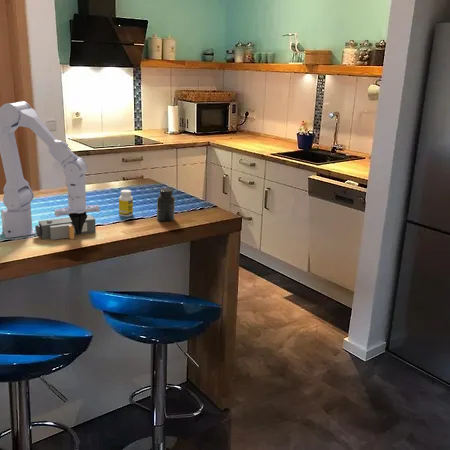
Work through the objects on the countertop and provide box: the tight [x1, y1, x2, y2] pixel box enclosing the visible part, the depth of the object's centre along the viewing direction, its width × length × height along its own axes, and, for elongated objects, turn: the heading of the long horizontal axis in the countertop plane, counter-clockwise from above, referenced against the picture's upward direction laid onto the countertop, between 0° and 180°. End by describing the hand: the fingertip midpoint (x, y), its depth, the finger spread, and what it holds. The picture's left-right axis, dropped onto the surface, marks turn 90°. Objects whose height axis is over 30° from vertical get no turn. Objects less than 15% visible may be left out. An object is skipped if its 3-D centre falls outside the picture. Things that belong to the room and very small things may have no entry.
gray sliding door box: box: [34, 214, 97, 241], centre depth 172 cm, size 19×5×6 cm, turn 122°
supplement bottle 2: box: [156, 187, 176, 223], centre depth 192 cm, size 7×7×12 cm
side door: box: [49, 223, 75, 241], centre depth 167 cm, size 7×4×4 cm, turn 122°
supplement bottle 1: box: [118, 189, 134, 218], centre depth 195 cm, size 5×5×10 cm
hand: (78, 233), depth 170 cm, fingers closed
